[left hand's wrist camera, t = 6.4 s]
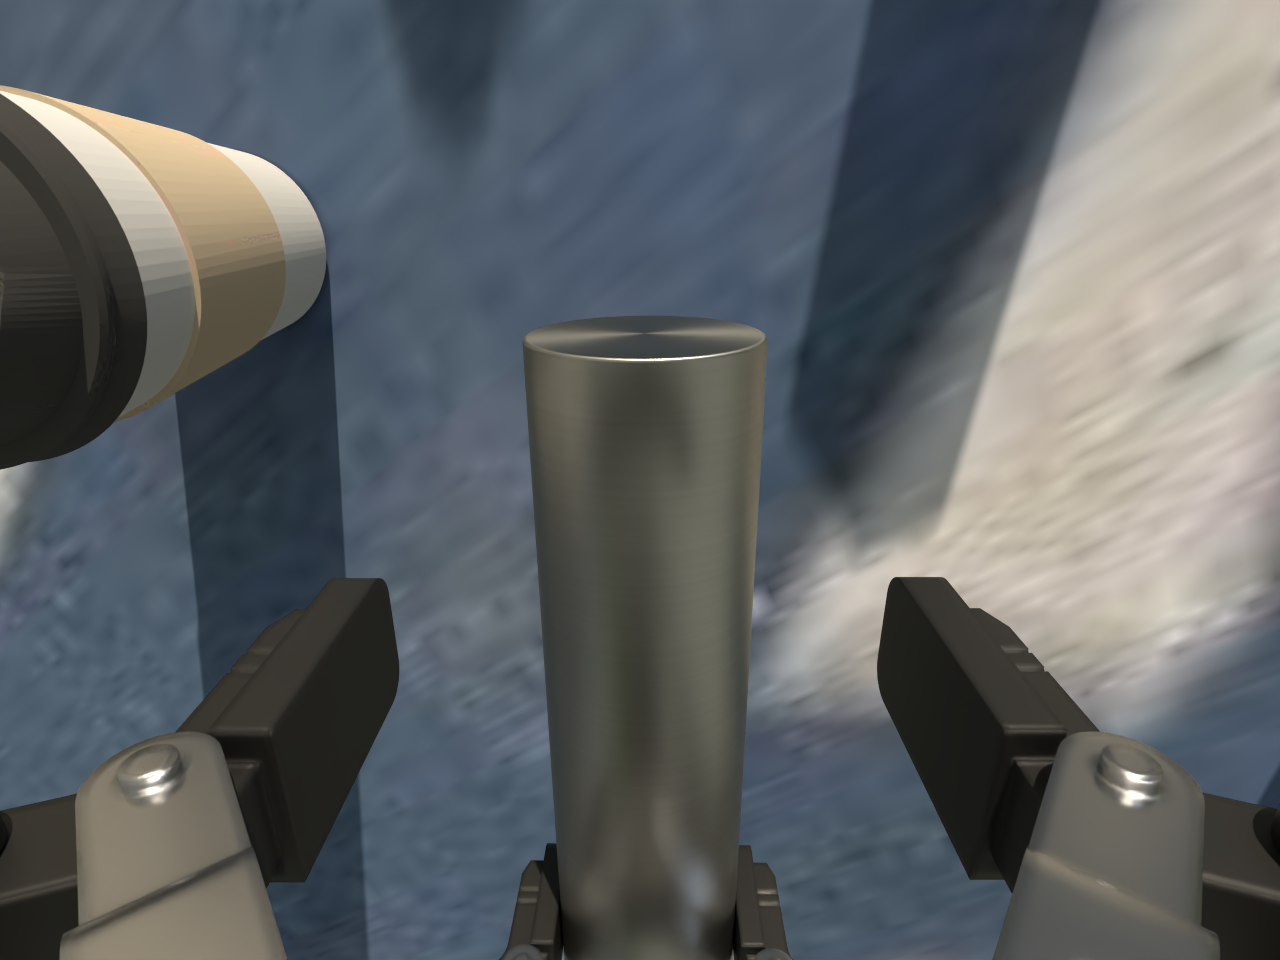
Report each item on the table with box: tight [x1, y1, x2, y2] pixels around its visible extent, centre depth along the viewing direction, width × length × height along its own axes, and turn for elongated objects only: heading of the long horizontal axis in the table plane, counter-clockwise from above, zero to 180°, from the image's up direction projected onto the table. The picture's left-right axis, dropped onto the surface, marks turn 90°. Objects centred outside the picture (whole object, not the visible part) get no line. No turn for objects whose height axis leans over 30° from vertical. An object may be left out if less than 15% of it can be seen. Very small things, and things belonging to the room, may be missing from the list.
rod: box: [522, 316, 768, 960], centre depth 20 cm, size 22×5×5 cm, turn 0°
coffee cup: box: [0, 86, 326, 469], centre depth 21 cm, size 9×9×15 cm
